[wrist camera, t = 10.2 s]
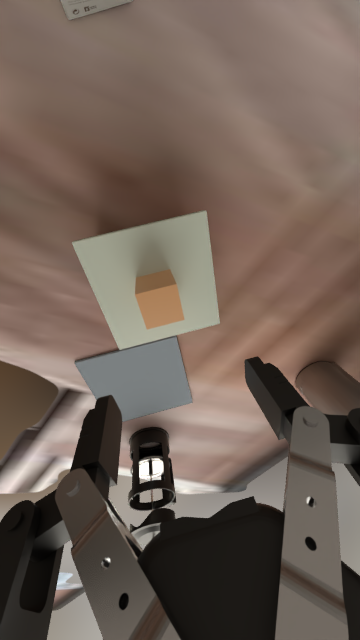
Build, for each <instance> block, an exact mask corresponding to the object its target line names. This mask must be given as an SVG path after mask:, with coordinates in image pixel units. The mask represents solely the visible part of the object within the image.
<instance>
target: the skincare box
mask: <svg viewBox="0 0 360 640" xmlns="http://www.w3.org/2000/svg"><path fill="white" fill-rule="evenodd" d="M60 1H61V4H62V6H63V9H64V11H65V14H66V16H67V18H68V19H69V20H72V19H75V18H79V17H82V16H86V15H89V14H93V13H96V12H99V11H103V10H106V9H109V8H112V7H115V6H119V5H122V4H126V3H129V2H132V1H133V0H60Z"/></svg>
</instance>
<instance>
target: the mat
mask: <svg viewBox="0 0 360 640" xmlns="http://www.w3.org/2000/svg"><path fill="white" fill-rule="evenodd" d="M75 365H76V367H77V368H78V370H79V372H80V373H81V375H82V377H83V378H84V380H85V382H86V383H87V385H88V386H89V388H90V390H91V391H92V393H93V395H94V396H95V398H96V400H97V399H98V398H100V397H104V396H107V395H112V396H113V397H114V399H115V401H116V403H117V405H118V407H119V409H120V411H121V414H122V422H124V421H127V420H131V419H135V418H138V417H142V416H146V415H149V414H153V413H157V412H160V411H164V410H167V409H171V408H175V407H178V406H182V405H186V404H189V403H193V402H192V398H191V394H190V390H189V386H188V382H187V378H186V374H185V369H184V365H183V361H182V357H181V353H180V349H179V345H178V341H177V337H176V335H175V336H171V337H167V338H164V339H160V340H156V341H152V342H148V343H144V344H140V345H137V346H133V347H129V348H125V349H121V350H117V351H113V352H109V353H106V354H102V355H98V356H94V357H90V358H86V359H82V360H78V361H75Z"/></svg>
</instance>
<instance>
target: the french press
mask: <svg viewBox="0 0 360 640" xmlns="http://www.w3.org/2000/svg"><path fill="white" fill-rule="evenodd" d="M150 442H158V443H161V445H159V446H158V447H155V448H152V449H141V448H139V446H140V445H142V444H145V443H150ZM129 444H130V458H131V460H132V461H133V465H132V468H131V474H132V490H131V491H130V492H129V496H128V505H129V507H130V508H132V509H133V510H137V511H150V510H152V512H151V513H150V514H149V515H148V517H147V518H146V519H145V521H144V522H143V523H142V524H141V525H140V526H138V527H134V526H133V525H132V524H130V532H131V534H132V535H133V536H134V538H135V539H136V541H137V542H138V543H139V545H147V544H148V543H149V542H150V540H151V539H152V538H153V537H154V536H155V535H157V534H158V533H159V532H160V524H161V523H164V522H167V521H171V520H174V519H175V513H174V511H173V510H171V509H167V508H162V507H164V506H169V507H170V506H172V505H174V504H175V503H176V496H175V488H174V480H173V471H172V463H171V459H170V458H168V454H169V452H170V450H169V435H168V433H167V432H166V431H165V430H163V429H161V428H156V427H150V428H144V429H141V430H139V431H137V432H136V433H134V434H133V435H132V436H131V438H130V442H129ZM158 476H161V480H153V481H152V478H155V477H158ZM140 478H141V479H150V481H148V482H144V483H141V484H140V480H139V479H140ZM153 489H162V492H163V499H161V500H158V501H154V502H153ZM147 490H151V502H148V503H140V502H139V501H140V495H139V494H140V493H141V492H143V491H147ZM132 498H133V500H132Z"/></svg>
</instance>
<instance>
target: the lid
mask: <svg viewBox="0 0 360 640" xmlns="http://www.w3.org/2000/svg"><path fill="white" fill-rule="evenodd" d="M72 244H73V247H74V249H75V251H76V253H77V256H78V258H79V260H80V262H81V265H82V267H83V269H84V271H85V274H86V276H87V278H88V280H89V283H90V285H91V287H92V289H93V292H94V294H95V296H96V298H97V300H98V303H99V305H100V307H101V309H102V312H103V314H104V316H105V318H106V321H107V323H108V325H109V327H110V330H111V332H112V334H113V336H114V339H115V341H116V343H117V345H118V348H119V350H121V349H125V348H129V347H133V346H136V345H140V344H144V343H148V342H152V341H156V340H159V339H163V338H167V337H171V336H175V335H178V334H182V333H186V332H190V331H194V330H197V329H201V328H205V327H209V326H213V325H216V324H220V321H219V312H218V304H217V295H216V287H215V278H214V270H213V261H212V253H211V244H210V236H209V227H208V219H207V211H205V210H203V211H198V212H194V213H190V214H186V215H181V216H177V217H173V218H169V219H165V220H160V221H156V222H152V223H148V224H143V225H139V226H135V227H131V228H127V229H122V230H118V231H114V232H110V233H105V234H101V235H97V236H93V237H89V238H84V239H80V240H76V241H74V242H72Z"/></svg>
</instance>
